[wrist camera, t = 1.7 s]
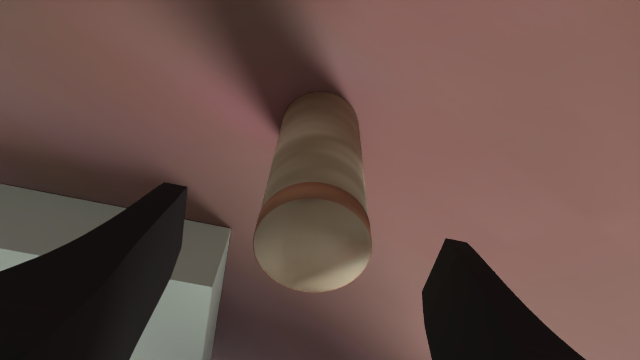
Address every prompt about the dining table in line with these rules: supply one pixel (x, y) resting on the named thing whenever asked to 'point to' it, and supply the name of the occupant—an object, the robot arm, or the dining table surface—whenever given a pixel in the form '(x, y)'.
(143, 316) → the robot arm
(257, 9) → the dining table surface
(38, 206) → the socket block
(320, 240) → the dowel
